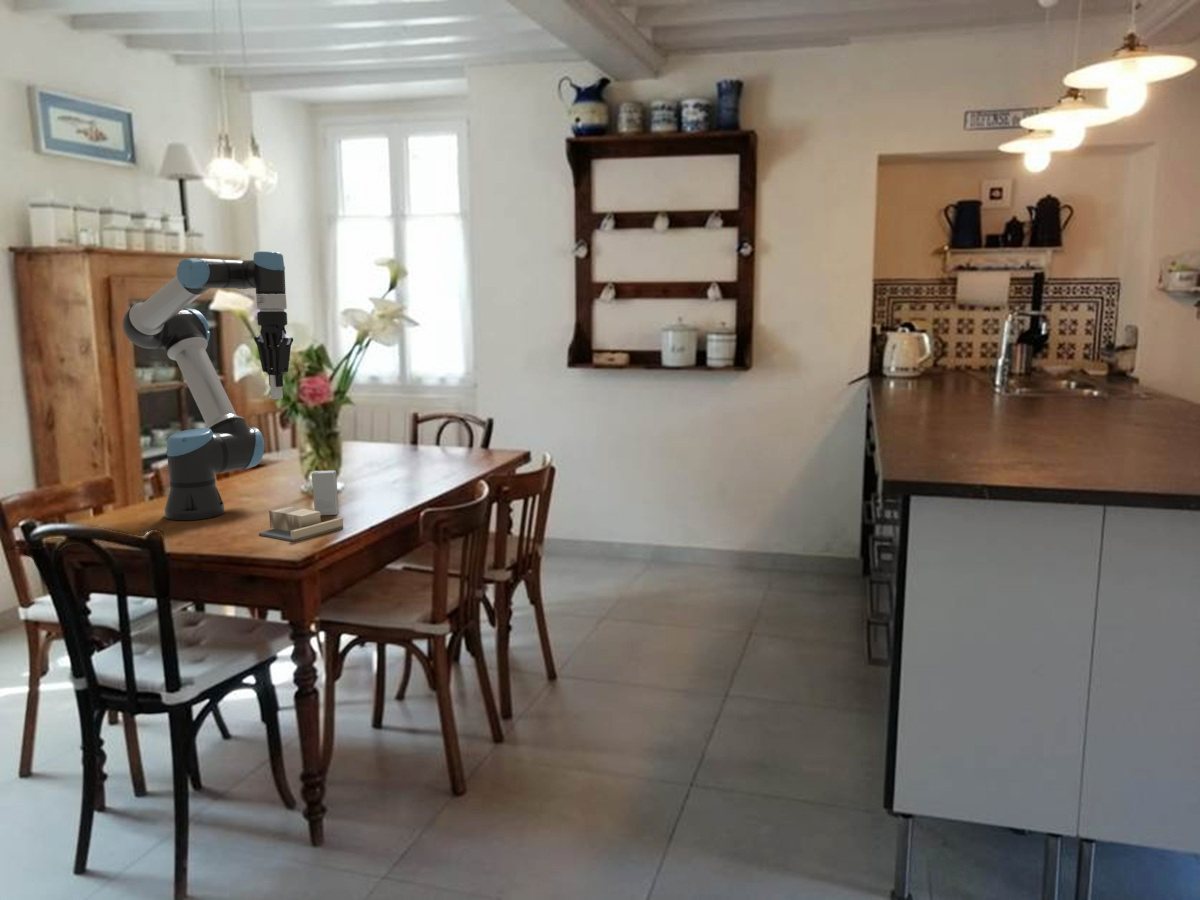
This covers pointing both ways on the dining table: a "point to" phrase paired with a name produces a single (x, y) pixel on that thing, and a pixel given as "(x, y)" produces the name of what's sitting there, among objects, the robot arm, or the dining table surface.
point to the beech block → (293, 518)
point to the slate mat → (305, 531)
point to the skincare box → (325, 492)
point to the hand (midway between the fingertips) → (277, 398)
